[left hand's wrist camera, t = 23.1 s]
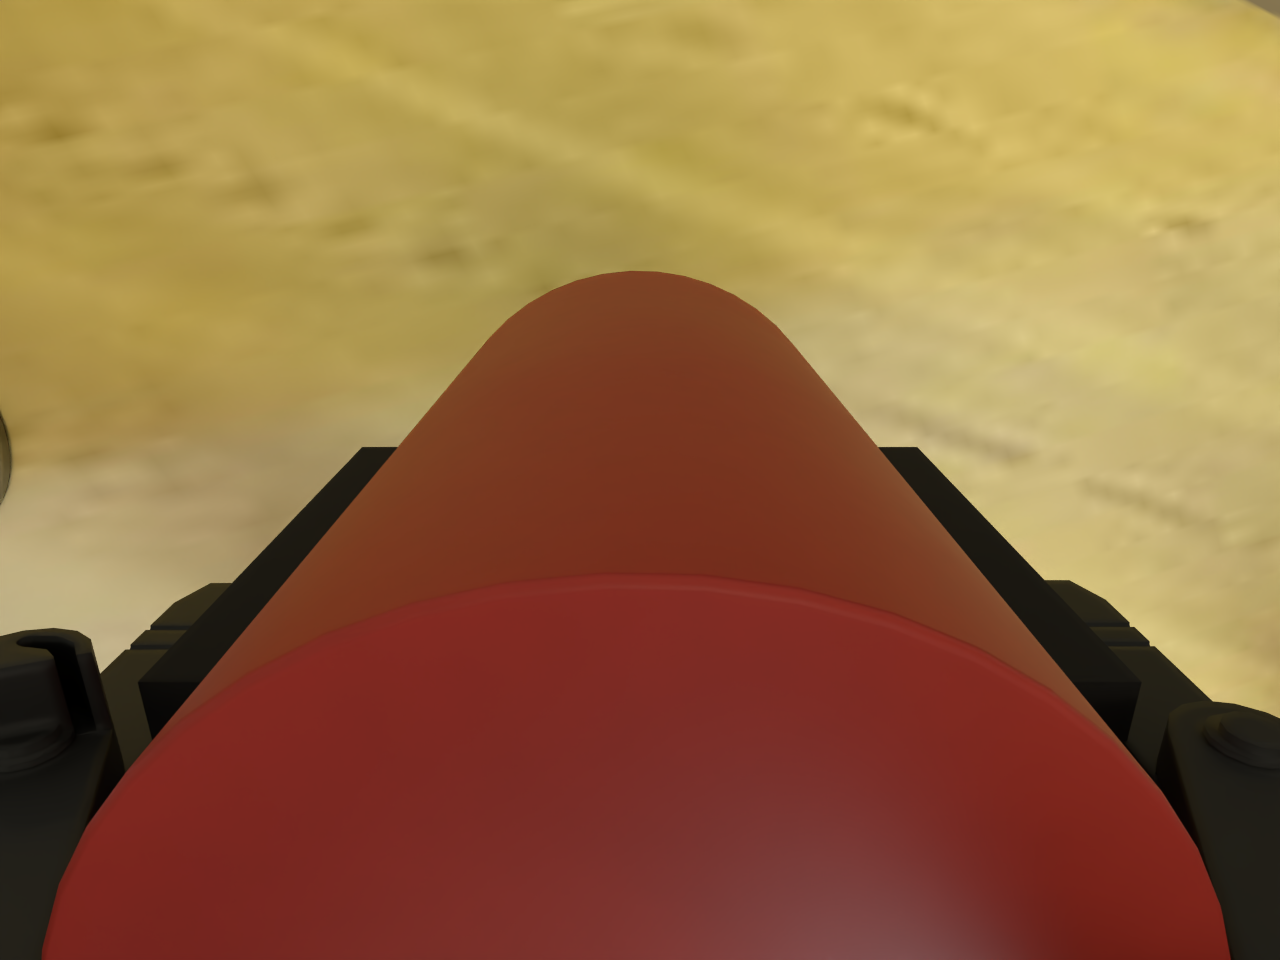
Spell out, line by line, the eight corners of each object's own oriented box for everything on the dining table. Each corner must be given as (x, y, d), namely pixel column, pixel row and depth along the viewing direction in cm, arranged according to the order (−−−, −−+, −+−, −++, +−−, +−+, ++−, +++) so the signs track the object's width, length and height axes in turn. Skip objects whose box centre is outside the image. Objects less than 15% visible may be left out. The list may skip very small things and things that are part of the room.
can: (469, 637, 18) (192, 1425, 7) (423, 279, 15) (-164, 605, 4) (822, 624, 18) (1129, 1403, 7) (838, 261, 15) (1389, 549, 4)
